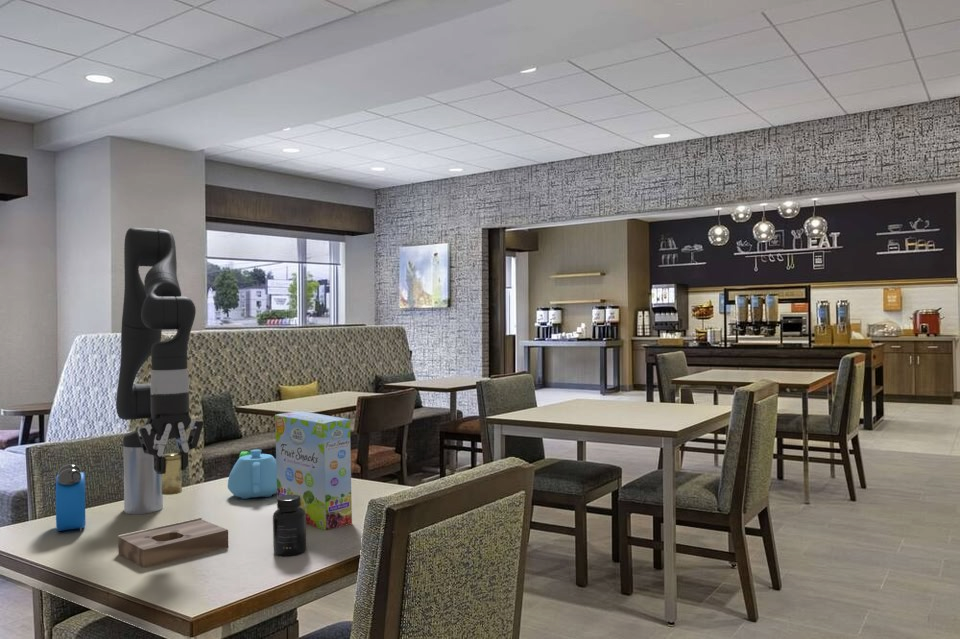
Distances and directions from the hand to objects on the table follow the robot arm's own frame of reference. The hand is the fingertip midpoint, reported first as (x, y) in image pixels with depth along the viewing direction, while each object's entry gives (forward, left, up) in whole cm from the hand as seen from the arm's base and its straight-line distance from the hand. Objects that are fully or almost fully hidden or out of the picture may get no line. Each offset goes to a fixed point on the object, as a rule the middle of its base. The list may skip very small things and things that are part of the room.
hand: (171, 471), depth 155 cm
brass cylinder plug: (0, 0, -4) cm, 4 cm away
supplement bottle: (+18, +17, -18) cm, 31 cm away
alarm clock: (-37, -8, -18) cm, 42 cm away
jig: (-2, +1, -18) cm, 18 cm away
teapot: (-33, +41, -18) cm, 56 cm away
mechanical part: (-59, +53, -18) cm, 81 cm away
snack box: (0, +35, -18) cm, 39 cm away
